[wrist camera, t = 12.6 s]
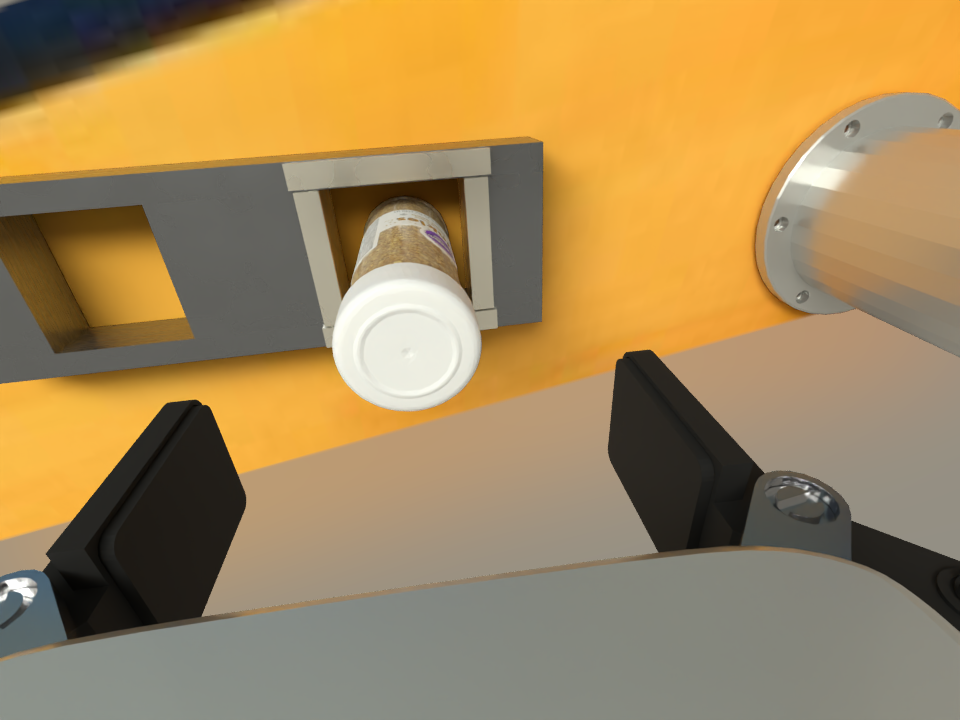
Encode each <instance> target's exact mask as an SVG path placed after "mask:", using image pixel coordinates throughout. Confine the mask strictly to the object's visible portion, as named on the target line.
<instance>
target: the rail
mask: <svg viewBox="0 0 960 720" xmlns="http://www.w3.org/2000/svg"><path fill="white" fill-rule="evenodd" d="M454 178H458V191H459V204H460V218H461V231H462V244H463V257H464V270H465V283H466V288H463V289H464V291H465V292H466V294H467V295H468V297H469V298H470V300H471V302H472V305H473V308H474V311H475V313H476V317H477V320H478V324H479V329H480V330H486V329H495V328H498V326H507V325H516V324H524V323H533V322H542V225H543V142H542V141H539V140H536V139H534V138H531V137H516V138H503V139H490V140H477V141H464V142H451V143H437V144H424V145H411V146H398V147H385V148H372V149H359V150H346V151H333V152H320V153H307V154H294V155H281V156H268V157H255V158H242V159H229V160H216V161H203V162H190V163H177V164H164V165H151V166H138V167H125V168H112V169H99V170H86V171H73V172H60V173H47V174H34V175H21V176H8V177H0V384H2V383H11V382H19V381H28V380H37V379H46V378H54V377H63V376H72V375H80V374H89V373H98V372H107V371H115V370H124V369H133V368H141V367H150V366H159V365H167V364H176V363H185V362H194V361H202V360H211V359H220V358H228V357H237V356H246V355H254V354H263V353H272V352H281V351H289V350H298V349H307V348H315V347H324V346H326V347H327V348H330V347H332V338H333V331H334V326H335V322H336V318H337V314H338V310H339V307H340V304H341V302H342V300H343V298H344V296H345V294H346V293H347V291H348V290H349V288H350V285H349V280H348V276H347V271H346V266H345V261H344V256H343V251H342V246H341V241H340V236H339V231H338V226H337V221H336V216H335V212H334V207H333V202H332V197H331V192H330V189H335V188H347V187H359V186H371V185H383V184H395V183H407V182H419V181H431V180H442V179H454ZM133 205H142V206H143V209H144V211H145V214H146V216H147V219H148V221H149V224H150V227H151V229H152V232H153V234H154V237H155V239H156V242H157V244H158V247H159V249H160V252H161V254H162V257H163V259H164V262H165V264H166V267H167V270H168V272H169V275H170V277H171V280H172V282H173V285H174V287H175V290H176V292H177V295H178V297H179V300H180V302H181V305H182V308H183V310H184V313H185V315H186V318H178V319H168V320H159V321H149V322H140V323H131V324H121V325H112V326H102V327H93V328H89V326H88V324H87V322H86V320H85V318H84V316H83V314H82V312H81V310H80V308H79V306H78V304H77V302H76V300H75V298H74V296H73V294H72V292H71V290H70V288H69V286H68V285H67V283H66V281H65V279H64V277H63V275H62V273H61V271H60V269H59V267H58V265H57V263H56V261H55V259H54V257H53V255H52V253H51V251H50V249H49V247H48V245H47V243H46V241H45V239H44V238H43V236H42V234H41V232H40V230H39V228H38V226H37V224H36V222H35V220H34V218H33V216H32V214H38V213H50V212H62V211H74V210H86V209H98V208H109V207H121V206H133Z"/></svg>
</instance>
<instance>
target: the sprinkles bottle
mask: <svg viewBox="0 0 960 720" xmlns="http://www.w3.org/2000/svg"><path fill="white" fill-rule="evenodd" d="M332 349H333V356H334V360H335V364H336V366H337V369H338V371H339V373H340V375H341V376H342V378H343V380H344V381H345V382H346V384H347V385H348V386H349V387H350V388H351V389H352V390H353V391H354V392H355V393H356V394H358V395H359V396H360V397H361V398H363V399H364V400H366V401H368V402H370V403H372V404H374V405H377V406H379V407H382V408H386V409H390V410H396V411H418V410H424V409H428V408H432V407H435V406H437V405H440V404H442V403H444V402H446V401H448V400H449V399H451V398H452V397H454V396H455V395H456V394H458V393H459V392H460V391H461V390H462V389H463V388H464V387H465V386H466V385H467V383H468V382H469V381H470V380H471V378H472V376H473V375H474V373H475V371H476V369H477V366H478V363H479V360H480V355H481V349H482V341H481V333H480V329H479V324H478V320H477V317H476V313H475V311H474V308H473V305H472V302H471V300H470V298H469V297H468V295H467V294H466V292H465V291H464V289H463V288H462V287H461V284H460V282H459V278H458V273H457V266H456V262H455V258H454V255H453V251H452V248H451V244H450V241H449V235H448V231H447V227H446V224H445V222H444V220H443V218H442V216H441V214H440V213H439V212H438V211H437V210H436V209H435V208H434V207H433V206H432V205H431V204H429V203H427V202H425V201H424V200H421V199H419V198H415V197H410V196H399V197H393V198H390V199H388V200H386V201H384V202H382V203H381V204H379V205H378V206H377V207H376V208H375V209H374V210H373V211H372V212H371V213H370V215H369V218H368V220H367V222H366V224H365V228H364V237H363V239H362V243H361V247H360V250H359V254H358V258H357V262H356V266H355V269H354V273H353V276H352V280H351V287H350V288H349V290H348V291H347V293H346V294H345V296H344V298H343V300H342V302H341V304H340V307H339V310H338V314H337V318H336V322H335V326H334V331H333V338H332Z"/></svg>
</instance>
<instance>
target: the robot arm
mask: <svg viewBox="0 0 960 720" xmlns="http://www.w3.org/2000/svg"><path fill="white" fill-rule="evenodd" d="M755 250H756V259H757V266H758V269H759V272H760V275H761V278H762V280H763V281H764V283H765V284H766V286H767V287H768V289H769V290H770V292H771V293H773V294H774V295H775V296H776V297H777V298H778V299H780V300H781V301H782V302H784V303H786V304H788V305H790V306H791V307H793V308H795V309H798V310H801V311H804V312H807V313H811V314H825V315H826V314H835V313H842V312H846V311H849V310H853V309H856V308H857V309H859V310H861V311H864V312H865V313H867V314H870V315H872V316H874V317H876V318H878V319H880V320H882V321H885V322H886V323H889V324H891V325H893V326H895V327H897V328H899V329H901V330H903V331H905V332H907V333H910V334H912V335H914V336H916V337H918V338H920V339H922V340H924V341H926V342H929V343H931V344H933V345H935V346H937V347H939V348H941V349H943V350H945V351H948V352H950V353H952V354H954V355H956V356H958V357H960V111H959V109H957V108H956V107H955V106H953V105H952V104H951V103H949V102H948V101H947V100H946V99H943V98H940V97H937V96H934V95H931V94H928V93H908V92H903V93H890V94H882V95H879V96H876V97H872V98H869V99H865V100H862V101H860V102H858V103H856V104H854V105H852V106H850V107H848V108H846V109H844V110H842V111H841V112H839V113H838V114H837V115H835V116H834V117H832V118H831V119H829V120H828V121H827V122H825V123H824V124H822V125H821V126H820V127H819V128H818V129H817V130H816V131H815V132H813V133H812V134H811V135H810V136H809V137H808V138H807V139H806V140H805V141H804V142H803V143H802V144H801V145H800V146H799V147H798V149H797V150H796V151H795V152H794V154H793V155H792V156H791V157H790V159H789V160H788V161H787V162H786V163H785V165H784V167H783V168H782V170H781V171H780V173H779V175H778V176H777V178H776V180H775V181H774V183H773V184H772V187H771V189H770V191H769V193H768V196H767V198H766V200H765V202H764V205H763V207H762V211H761V215H760V218H759V222H758V226H757V233H756V244H755ZM608 454H609V458H610V461H611V463H612V465H613V467H614V469H615V471H616V473H617V475H618V477H619V479H620V480H621V482H622V484H623V486H624V488H625V490H626V492H627V494H628V495H629V497H630V499H631V501H632V503H633V505H634V507H635V509H636V511H637V512H638V515H639V516H640V518H641V520H642V522H643V524H644V526H645V528H646V530H647V531H648V533H649V535H650V537H651V539H652V541H653V543H654V545H655V547H656V549H657V550H658V552H659V553H653V554H645V555H636V556H628V557H620V558H611V559H604V560H597V561H589V562H582V563H575V564H567V565H561V566H553V567H545V568H538V569H531V570H524V571H517V572H509V573H502V574H495V575H488V576H480V577H473V578H466V579H460V580H452V581H445V582H438V583H431V584H423V585H416V586H409V587H402V588H396V589H389V590H382V591H375V592H368V593H361V594H354V595H347V596H340V597H333V598H326V599H320V600H312V601H306V602H299V603H293V604H285V605H279V606H272V607H265V608H259V609H252V610H245V611H239V612H232V613H225V614H218V615H211V616H205V617H201V616H202V613H203V611H204V609H205V606H206V604H207V601H208V598H209V596H210V594H211V591H212V589H213V586H214V584H215V581H216V579H217V577H218V574H219V572H220V569H221V567H222V564H223V562H224V559H225V557H226V555H227V552H228V550H229V547H230V545H231V542H232V540H233V537H234V535H235V532H236V530H237V528H238V525H239V522H240V520H241V518H242V515H243V513H244V510H245V507H246V495H245V491H244V489H243V486H242V484H241V482H240V479H239V477H238V474H237V472H236V469H235V467H234V464H233V462H232V460H231V457H230V455H229V452H228V450H227V447H226V445H225V442H224V440H223V438H222V435H221V433H220V430H219V428H218V425H217V423H216V420H215V418H214V416H213V413H212V411H211V409H210V407H209V406H207V405H202V404H201V403H200V402H199V401H198V400H188V401H179V402H170V403H167V404H166V405H164V406H163V408H162V409H161V410H160V412H159V413H158V414H157V415H156V417H155V418H154V419H153V420H152V422H151V423H150V424H149V425H148V427H147V428H146V429H145V430H144V432H143V433H142V434H141V435H140V437H139V438H138V439H137V440H136V442H135V443H134V444H133V445H132V447H131V448H130V449H129V450H128V452H127V453H126V454H125V455H124V457H123V458H122V459H121V460H120V462H119V463H118V464H117V465H116V467H115V468H114V469H113V470H112V472H111V473H110V474H109V475H108V477H107V478H106V479H105V480H104V482H103V483H102V484H101V485H100V487H99V488H98V489H97V490H96V492H95V493H94V494H93V495H92V497H91V498H90V499H89V500H88V502H87V503H86V504H85V505H84V507H83V508H82V509H81V510H80V512H79V513H78V514H77V515H76V517H75V518H74V519H73V520H72V522H71V523H70V524H69V526H68V527H67V528H66V529H65V531H64V532H63V533H62V534H61V535H60V537H59V538H58V539H57V540H56V542H55V543H54V544H53V546H52V547H51V548H50V549H49V550H48V552H47V553H46V555H47V556H48V557H49V559H50V560H51V561H50V563H49V564H48V565H47V566H46V568H45V569H44V570H43V572H41V571H37V570H21V571H17V572H14V573H10V574H6V575H4V576H1V577H0V720H960V561H958V560H955V559H953V558H950V557H947V556H945V555H942V554H939V553H936V552H934V551H931V550H928V549H926V548H923V547H920V546H918V545H915V544H912V543H910V542H907V541H904V540H902V539H899V538H896V537H893V536H891V535H888V534H885V533H883V532H880V531H877V530H875V529H872V528H869V527H867V526H864V525H861V524H859V523H856V522H853V521H851V512H850V509H849V505H848V504H847V502H846V501H845V500H844V498H843V497H842V496H841V495H840V494H839V493H838V492H837V491H835V490H834V489H833V488H832V487H830V486H829V485H827V484H825V483H823V482H822V481H820V480H818V479H816V478H813V477H811V476H808V475H805V474H802V473H797V472H792V471H772V472H767V473H764V472H763V471H762V470H761V469H760V468H759V467H758V466H757V464H756V463H755V462H754V461H753V460H752V459H751V458H750V457H749V456H748V455H747V454H746V452H745V451H744V450H743V449H742V448H741V447H740V446H739V445H738V444H737V443H736V442H735V440H734V439H733V438H732V437H731V436H730V435H729V434H728V433H727V432H726V431H725V430H724V428H723V427H722V426H721V425H720V424H719V423H718V422H717V421H716V420H715V419H714V418H713V416H712V415H711V414H710V413H709V412H708V411H707V410H706V409H705V408H704V407H703V406H702V404H700V403H699V401H698V400H697V399H696V398H695V397H694V396H693V395H692V394H691V393H690V392H689V391H688V389H687V388H686V387H685V386H684V385H683V384H682V383H681V382H680V381H679V380H678V378H677V377H676V376H675V375H674V374H673V373H672V372H671V371H670V370H669V369H668V368H667V367H666V365H665V364H664V363H663V362H662V361H661V360H660V359H659V358H658V357H657V356H656V354H655V353H654V352H653V351H651V350H642V351H633V352H626V353H625V354H624V356H623V359H618V360H617V362H616V370H615V381H614V390H613V402H612V412H611V423H610V432H609V443H608Z"/></svg>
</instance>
